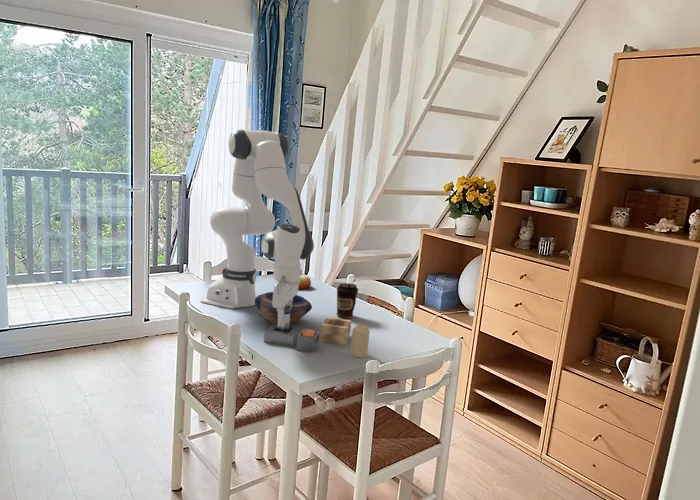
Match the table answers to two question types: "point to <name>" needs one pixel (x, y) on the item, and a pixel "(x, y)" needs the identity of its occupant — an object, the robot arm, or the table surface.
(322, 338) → the wooden box
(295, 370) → the table surface
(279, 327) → the steel peg
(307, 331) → the button
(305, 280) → the fruit
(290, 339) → the socket block
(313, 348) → the button housing
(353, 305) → the coffee cup
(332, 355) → the table surface
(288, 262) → the robot arm
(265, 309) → the bowl
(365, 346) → the candle
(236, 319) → the table surface
